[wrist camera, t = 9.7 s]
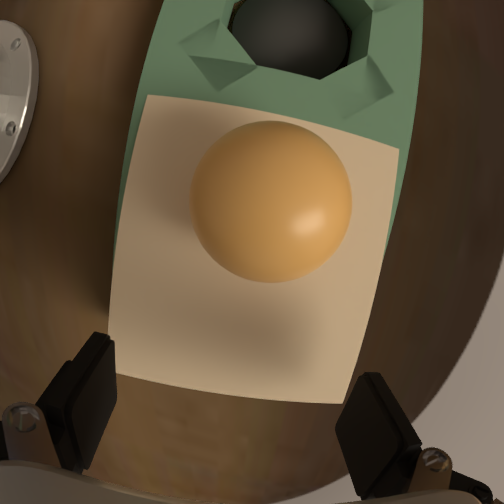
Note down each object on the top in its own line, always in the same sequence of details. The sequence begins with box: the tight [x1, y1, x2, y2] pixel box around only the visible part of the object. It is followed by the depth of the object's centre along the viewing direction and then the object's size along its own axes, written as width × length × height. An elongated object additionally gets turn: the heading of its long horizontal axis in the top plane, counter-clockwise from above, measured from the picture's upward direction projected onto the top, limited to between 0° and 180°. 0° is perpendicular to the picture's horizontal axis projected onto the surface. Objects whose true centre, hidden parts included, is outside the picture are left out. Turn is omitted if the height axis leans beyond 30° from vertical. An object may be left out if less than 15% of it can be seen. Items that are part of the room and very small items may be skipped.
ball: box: [189, 120, 352, 283], centre depth 10 cm, size 5×5×5 cm
